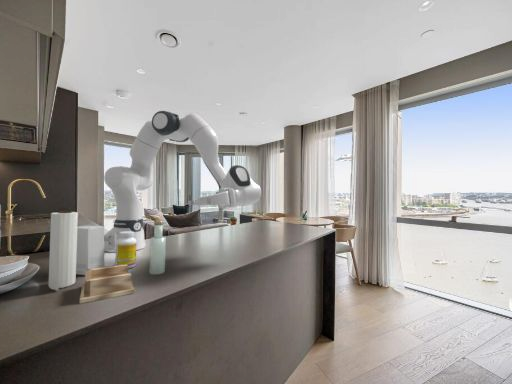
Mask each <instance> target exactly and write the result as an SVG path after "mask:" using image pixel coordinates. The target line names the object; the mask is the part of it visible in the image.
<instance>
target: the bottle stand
mask: <svg viewBox="0 0 512 384" xmlns="http://www.w3.org/2000/svg"><path fill="white" fill-rule="evenodd" d="M128 271H129V269H128V264H126V265H118V266H115V265H114V266H113V265H112V266H111V265H110V266H104V267H103V268H95V269H87V270H86V275H84V276H85V277H84V282H83V283H82V285H81V290H80V295H79V304H85V303H90V302H96V301H100V300H106V299H111V298H116V297H120V296H126V295H130V294H135V287H134V284H133V281H132V273H128Z"/></svg>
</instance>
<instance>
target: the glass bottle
mask: <svg viewBox="0 0 512 384" xmlns="http://www.w3.org/2000/svg"><path fill="white" fill-rule="evenodd" d="M153 224H154V231H153V233H154V235H153V237H150V239H149V241H150V242H149V269H148V270H149V273H148V274H150V275H154V276H155V275H161V274H164V273H165V272H166V270H165V269H166V247H167V243H166V242H167V237H166V236H163V231H164V230H163V225H164V220H163V219H162V220H154V221H153Z"/></svg>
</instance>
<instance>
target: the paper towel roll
mask: <svg viewBox="0 0 512 384" xmlns="http://www.w3.org/2000/svg"><path fill="white" fill-rule="evenodd" d="M78 218H79V212H76V211H58V212H51V213H50V232H49V233H50V236H49V257H48V258H49V260H48V261H49V263H48V288H49V289H51V290H54V291H55V290H56V291H59V289H62V288H67V287H71V286H72V285H74V284H75V283H76V282H77V280H76V277H77V276H76V275H77V274H76V254H77V227H78V226H79V225H78V220H79V219H78Z"/></svg>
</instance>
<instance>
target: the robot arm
mask: <svg viewBox="0 0 512 384" xmlns="http://www.w3.org/2000/svg"><path fill="white" fill-rule="evenodd" d="M166 140H169V141H172V142H176V143H185V142H187V141H190V142H191V143H192V144H193V146H194V147H195V149H196V150H197V152H198V153H199V155H200V157H201V159H202V161H203V163H204V165H205V167H206V169H208V171H209V173H210V174H211V176H212V178H214V180H215V182H216V183H217V186H218V191H216V192H215V193H214V194H211V195H206V196H204V195H203V196H200V197H196V198H197V199H193V200H189V201H188V205H189V206H198V207H201V206H202V207H204V206H208V207H209V206H217V207H218V208H221V209H222V210H228V209H233V208H236V207H239V206H240V207H246V206H249V205H250V206H251V205H254V204H257V203H258V202H259V201H260V199H261V197H262V189H261V186H260V185H259V184H258V183H256V182H255V181H254V180H253V179H252V177H251V175H250V174H249V171H248V169H247V168H245V167H244V166H242V165H232V166H231V167H230V168H229V169H228V170H227V172H226V170H225V169H224V167H223V166H222V164H221V162H220V159H219V146H220V140H219V138H218V135H217V134H216V131H215V130H214V129H213V128H212V127H211V126H210V124H208V122H206V120H204V118H202V117H201V116H200V115H199V114H197V113H194V112H193V113H189V114H186V115H185V116H184V117H180V115H179V114H177V113H174V112H171V111H166V110H159V111H157V112H155V113H154V114H153V116H152V119H151V120H148V121H146V122H145V123H144V124H143V126H142V127H141V128H140V129H139V132H138V133H137V135H136V137H135V139H134V141H133V144H132V145H131V148H130V150H129V157H130V158H131V165H130V167H128V166H122V165H121V166H112V167H109V168H108V169H107V170H106V171H105V173H104V177H103V180H104V183H105V185H106V186H107V187H108V188H109V189H110V190H111V192H112V194H113V196H114V199H115V205H116V207H115V208H116V210H115V212H116V215H115V217H116V218H115V220H113V221H112V223H113V227H112V228H111V229H110V230H108V232H106V233H104V252H107V253H116V241H117V240H118V239H120V236H119V233H120V232H123V231H133V232H134V236H133V238H135V239H136V241H137V242H136V251H138V250H143V249H145V247H146V245H147V243H146V241H145V230H144V228H143V226H144V219H143V208H144V207H143V202H142V201H141V200H140V199H139V197H138V193H137V191H138V192H139V191H145V190H148V189H150V188H151V187H152V185H153V183H154V177H153V174H152V170H153V164H154V162H155V159H156V157H157V155H158V153H159V152H160V149H161V146H162V144H163V143H164V141H166Z"/></svg>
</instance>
